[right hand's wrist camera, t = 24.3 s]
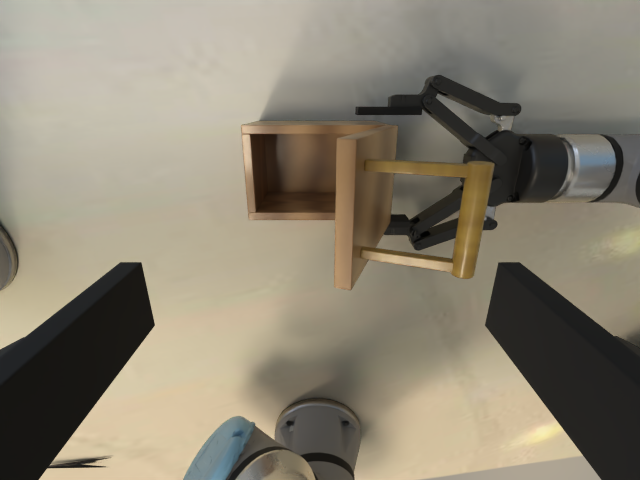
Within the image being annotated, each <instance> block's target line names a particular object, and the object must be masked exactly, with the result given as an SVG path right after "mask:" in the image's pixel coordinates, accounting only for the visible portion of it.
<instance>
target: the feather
mask: <svg viewBox="0 0 640 480" xmlns="http://www.w3.org/2000/svg"><path fill="white" fill-rule="evenodd" d="M111 458H112V457H111ZM103 459H107V458H103ZM96 460H102V459H95V460H88V461H80V462H72V463H65V464H57V465H50V466H48V468H89V467H104V466H92V465H82V464H85V463H88V464H90V463H92V462H95V461H96ZM100 463H101V462H100Z"/></svg>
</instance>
